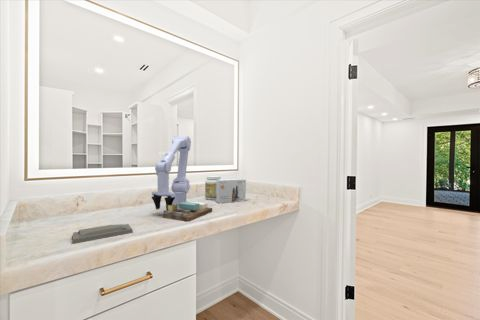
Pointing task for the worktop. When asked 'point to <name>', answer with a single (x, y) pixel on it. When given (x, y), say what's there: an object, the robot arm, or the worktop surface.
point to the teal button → (189, 205)
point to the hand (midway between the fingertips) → (163, 209)
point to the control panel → (186, 214)
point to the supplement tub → (211, 187)
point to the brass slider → (173, 207)
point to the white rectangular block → (201, 205)
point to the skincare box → (230, 190)
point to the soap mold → (100, 232)
